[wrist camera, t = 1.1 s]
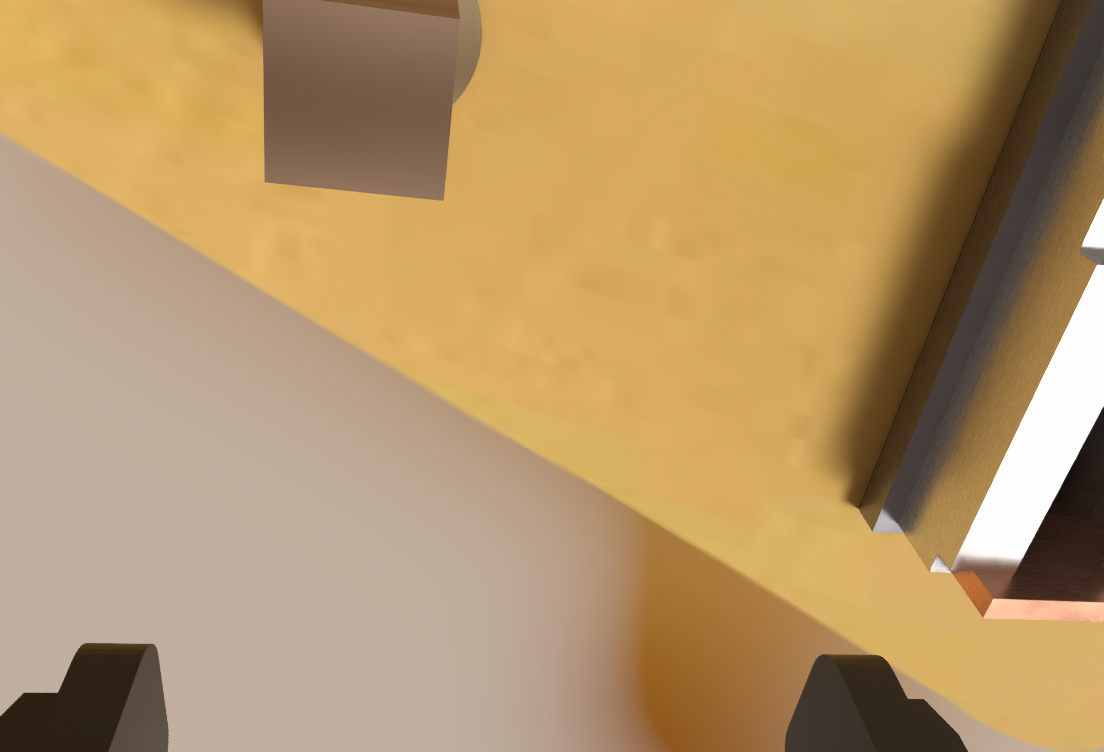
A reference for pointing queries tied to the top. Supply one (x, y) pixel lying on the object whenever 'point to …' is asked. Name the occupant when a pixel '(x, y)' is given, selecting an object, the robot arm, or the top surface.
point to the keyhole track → (1018, 365)
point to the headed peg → (365, 91)
